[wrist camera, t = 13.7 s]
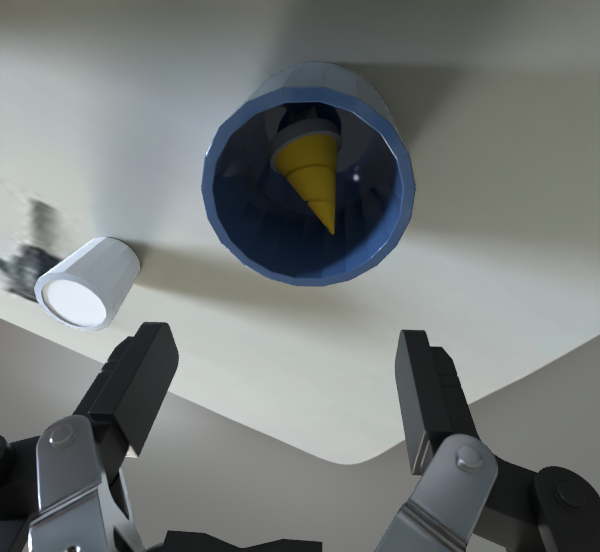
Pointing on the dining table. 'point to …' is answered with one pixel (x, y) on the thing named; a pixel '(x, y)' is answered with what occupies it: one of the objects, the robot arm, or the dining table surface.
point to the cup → (285, 199)
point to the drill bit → (309, 161)
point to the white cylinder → (89, 284)
